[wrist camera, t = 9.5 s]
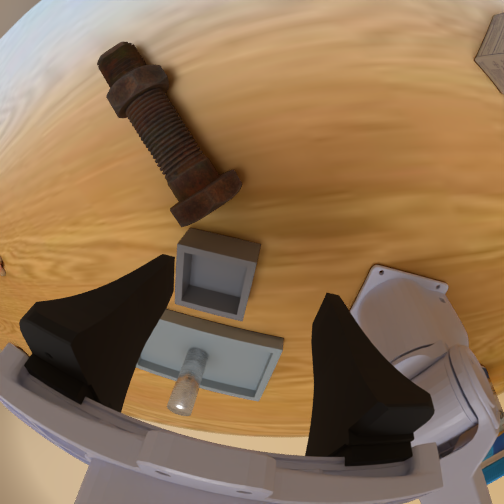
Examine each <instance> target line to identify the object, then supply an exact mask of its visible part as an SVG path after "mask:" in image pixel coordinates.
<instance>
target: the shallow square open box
mask: <svg viewBox="0 0 504 504" xmlns="http://www.w3.org/2000/svg"><path fill="white" fill-rule="evenodd" d="M260 246H261V244H258V243H253V242H249V241H245V240H241V239H236V238H232V237H228V236H224V235H219V234H215V233H211V232H206V231H202V230H198V229H193V228H189V230H188V231H187V232H186V233H185V235H184V236H183V237H182V239H181V240H180V241H179V243H178V244H177V261H176V284H175V304H178V305H181V306H185V307H188V308H192V309H195V310H199V311H203V312H207V313H211V314H214V315H218V316H222V317H226V318H230V319H234V320H239V321H243V317H244V313H245V309H246V305H247V301H248V297H249V293H250V289H251V285H252V281H253V277H254V273H255V268H256V264H257V260H258V255H259V251H260Z"/></svg>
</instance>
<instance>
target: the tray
mask: <svg viewBox="0 0 504 504" xmlns="http://www.w3.org/2000/svg"><path fill="white" fill-rule="evenodd" d="M193 347H196V348H200V349H203V350H204V351H206V352H207V353H208V355H209V358H208V361H207V365H206V368H205V371H204V374H203V377H202V381H201V384H200V387H199V388H202V389H206V390H210V391H214V392H218V393H222V394H226V395H230V396H235V397H239V398H244V399H249V400H254V401H259V400H260V398H261V396H262V394H263V392H264V390H265V387H266V385H267V383H268V381H269V379H270V377H271V375H272V373H273V370H274V368H275V366H276V364H277V362H278V359H279V357H280V355H281V353H282V351H283V338H280V337H275V336H270V335H266V334H261V333H257V332H252V331H248V330H244V329H239V328H235V327H231V326H227V325H223V324H219V323H215V322H211V321H207V320H204V319H200V318H196V317H193V316H189V315H185V314H182V313H178V312H175V311H171V310H168V309H165V311H164V313H163V315H162V316H161V318H160V320H159V322H158V323H157V325H156V327H155V328H154V330H153V332H152V333H151V335H150V337H149V339H148V340H147V342H146V344H145V346H144V348H143V350H142V353H141V355H140V358H139V360H138V362H137V365H136V367H137V368H139V369H142V370H145V371H148V372H150V373H153V374H156V375H159V376H162V377H165V378H168V379H171V380H175V381H177V378H178V375H179V373H180V370H181V367H182V365H183V362H184V360H185V357H186V354H187V352H188V350H189V349H190V348H193Z"/></svg>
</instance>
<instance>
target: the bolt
mask: <svg viewBox="0 0 504 504" xmlns="http://www.w3.org/2000/svg"><path fill="white" fill-rule="evenodd" d="M131 44H132V43H128V42H120V43H119V44H117V45H116V46H114V47H112V48H111V49H109V50H108V51H106V52H105V53H104V54H102V55H101V56H100V58H99V60H98V63H97V65H99V66H98V67H99V70H100V71H101V73H102V74H103V76H104V78H105V79H106V81H107V83H108V84H109V87H110V90H109V92H108V94H107V99H108V101H109V102H110V104H111V106H112V107H113V109H114V111H115V113H116V114H117V116H118V117H119V118H127V117H128V119H129V120H130V122H131V123H132V126H134V128H135V130H136V131H137V133H138V134H139V137H141V140H142V141H143V144H146V148H148V151H150V152H151V155H153V159H156V160H155V162H156V163H158V165H157V166H158V167H161V168H160V171H163V173H162V174H163V175H165V174H166V175H165V178H166V180H167V182H168V185H169V187H170V189H171V190H172V192H173V193H174V195H175V196H176V198H177V200H178V201H179V202H178V203H177V204H175V205H174V206H173V207H171V208H170V211H171V212H172V214H173V215H174V217H175V218H176V220H177V221H178V223H179V224H180V226H181V227H184V226H188V225H190V224H192V223H194V222H196V221H198V220H200V219H202V218H203V217H205V216H206V215H208V214H210V213H211V212H213V211H214V210H216V209H217V208H219V207H220V206H222V205H223V204H224V203H226V202H227V201H229V200H230V199H232V198H233V197H234V196H235V195H236V194H237V193H238V192H239V190H240V189H241V187H242V182H241V181H240V179H239V177H238V176H237V174H236V172H235V171H234V170H230V171H228V172H225V173H223V174H222V175H220V176H219V174H218V173H217V171H216V170H215V168H214V167H213V165H212V163H211V162H210V160H209V159H208V158H207V157H206V156H205V155H204V154H202V151H199V149H200V147H196V146H197V145H198V144H197V143H194V142H195V139H192V137H193V136H192V135H190V132H189V131H187V130H188V128H187V127H185V124H182V123H183V121H182V120H180V119H181V117H178V113H176V110H175V109H174V106H171V105H172V103H171V102H169V101H170V100H169V99H167V96H166V95H165V93H166V92H167V90H168V88H169V81H168V77H167V75H166V74H165V72H164V71H163V69H162V68H161V66H160V65H147V64H146V63H145V61H143V58H142V57H141V55H140V54H139V52H138V51H137V50H136V47H135V46H134V44H133V45H131Z"/></svg>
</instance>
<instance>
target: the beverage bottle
mask: <svg viewBox="0 0 504 504" xmlns="http://www.w3.org/2000/svg"><path fill="white" fill-rule="evenodd" d="M481 367H482V369H483V370H484V372H485V374H486V377H487V379H488V381H489V383H490V386H491V389H492V391H493V395H494V399H495V402H496V404H497V407H498V409H499V412H500V425H499V434H498V436H497V438H496V440H495V442H494V444H493V445H492V447H491V449H490V450H489V452H488V453H487V455H486V456H485V458H484V460H483V461H482V463H481V464H480V466H481V469H482V472H483V475H484V478H485V481H486V484H487V485H488V484H490V483H492V482H493V481H495V480H497V479H499V478H500V477H502V476H504V412H503V410H502V407H501V405H500V402H499V400H498V397H497V395H496V392H495V390H494V387H493V385H492V382H491V380H490V378H489V376H488V372H487V370H486V368H485V367H484V366H481Z"/></svg>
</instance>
